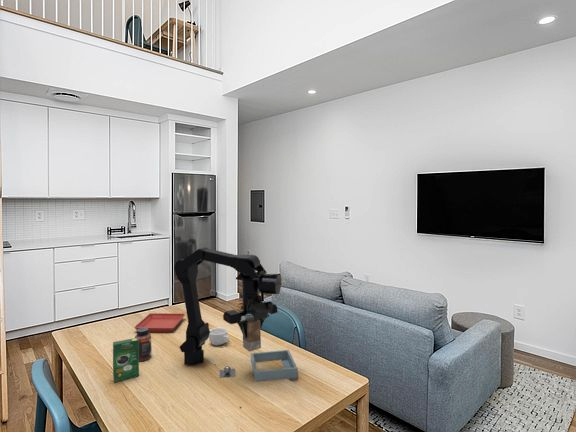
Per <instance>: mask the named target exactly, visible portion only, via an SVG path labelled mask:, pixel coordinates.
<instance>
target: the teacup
mask: <svg viewBox="0 0 576 432" xmlns="http://www.w3.org/2000/svg"><path fill="white" fill-rule="evenodd" d="M209 331H210V333H209V338H208V339H209V342H210V344H212V345H213V346H222V345H224V344H225V343H228V342H229V340H230V338H229V336H228V332H229V331H228V329H227V328H225V327H219V326H218V327H214V328H211V329H210V328H209Z"/></svg>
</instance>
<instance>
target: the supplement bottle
mask: <svg viewBox="0 0 576 432" xmlns="http://www.w3.org/2000/svg"><path fill="white" fill-rule="evenodd" d="M134 338H137V339H138V340H139V362H145V361H148V360H149V359H151V358H152V356H153V355H152V351H153V350H152V335H151V332H148V328H140V329H138V330H136V335H134Z"/></svg>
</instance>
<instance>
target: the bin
mask: <svg viewBox="0 0 576 432" xmlns="http://www.w3.org/2000/svg"><path fill="white" fill-rule="evenodd" d="M278 360H281V363H282V365H283V368H273V369H268V370H267V369H265V370H264V369H263V370H258V369H257V365H256V363H257V362H267V361H269V362H270V361H278ZM250 363H251V364H250V365H251V367H252V368H251V369H252V372H253V377H254V382H262V381H272V380H280V379H288V380H289V381H297V380H298V371H299V370H298V366H297V364H296V362H295V359H294V358H293V356H292V354H291V350H289V349H282V350H273V351H272V350H271V351H261V352H250Z"/></svg>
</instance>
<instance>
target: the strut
mask: <svg viewBox="0 0 576 432" xmlns="http://www.w3.org/2000/svg"><path fill="white" fill-rule="evenodd" d="M245 319H246V320H247V321H248V323H247V338H246V339H245V338H244V336H243V335H242V348H244V349H245V350H246V351H248V352H250V353H251V352H253V351H256V350H260V349H261V348H262V343H261V341H262V340H261V338H262V337H261V330H260V320H256V319H255V318H254V317H253V316H249V317H245Z"/></svg>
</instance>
